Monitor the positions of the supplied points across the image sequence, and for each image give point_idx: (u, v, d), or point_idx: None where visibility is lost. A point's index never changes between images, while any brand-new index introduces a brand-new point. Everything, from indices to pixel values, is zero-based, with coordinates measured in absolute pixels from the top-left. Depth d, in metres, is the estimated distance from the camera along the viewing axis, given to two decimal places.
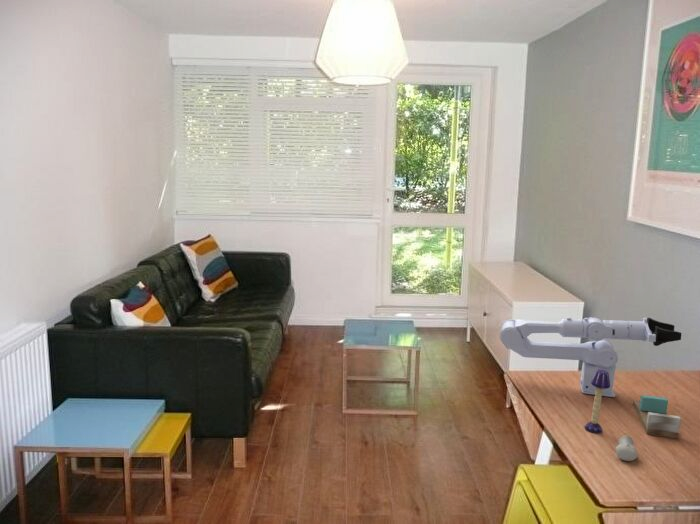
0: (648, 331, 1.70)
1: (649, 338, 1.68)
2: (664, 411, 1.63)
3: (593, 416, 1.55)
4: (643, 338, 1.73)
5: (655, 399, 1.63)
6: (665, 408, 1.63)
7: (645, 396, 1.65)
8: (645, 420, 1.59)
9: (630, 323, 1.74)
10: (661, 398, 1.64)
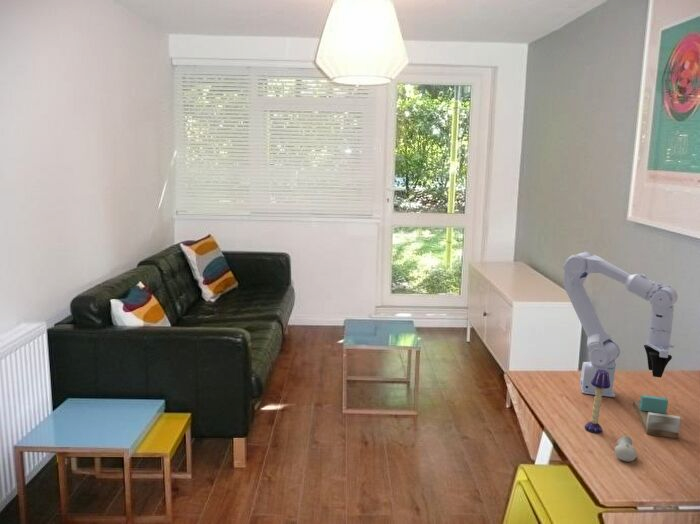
0: None
1: (664, 351, 1.61)
2: (664, 411, 1.63)
3: (593, 416, 1.55)
4: (654, 343, 1.66)
5: (655, 399, 1.63)
6: (665, 408, 1.63)
7: (645, 396, 1.65)
8: (645, 420, 1.59)
9: (670, 332, 1.66)
10: (661, 398, 1.64)
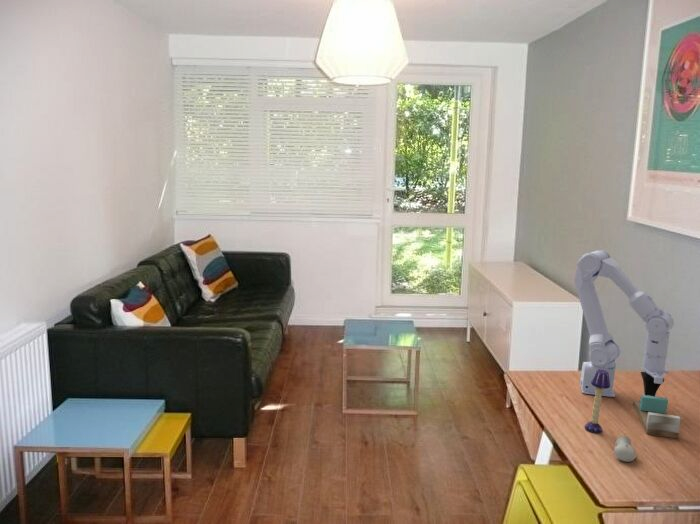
0: (662, 376, 1.65)
1: (658, 378, 1.63)
2: (664, 411, 1.63)
3: (593, 416, 1.55)
4: (649, 369, 1.68)
5: (655, 399, 1.63)
6: (665, 408, 1.63)
7: (645, 396, 1.65)
8: (645, 420, 1.59)
9: (665, 358, 1.67)
10: (661, 398, 1.64)
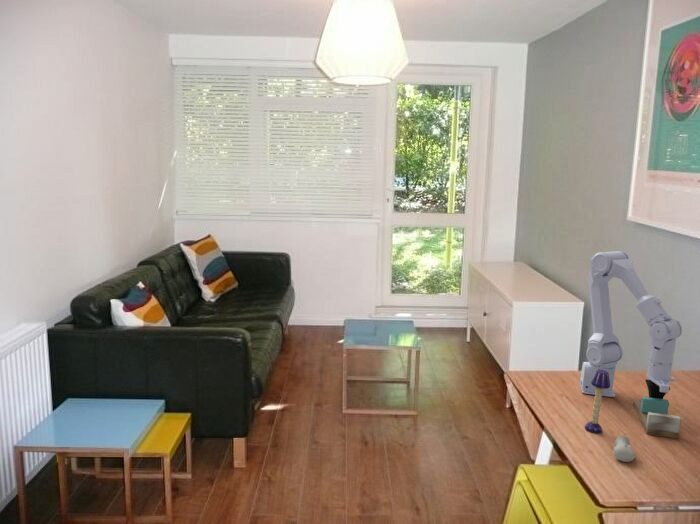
0: (668, 384, 1.59)
1: (664, 386, 1.57)
2: (665, 413, 1.62)
3: (593, 416, 1.55)
4: (654, 377, 1.62)
5: (656, 401, 1.62)
6: (666, 410, 1.62)
7: (646, 398, 1.63)
8: (645, 420, 1.59)
9: (671, 365, 1.61)
10: (662, 400, 1.63)
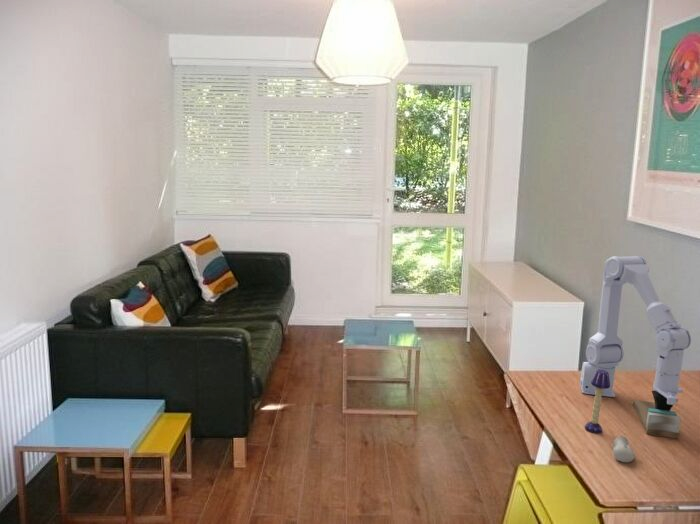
0: (676, 396, 1.51)
1: (672, 398, 1.50)
2: None
3: (593, 416, 1.55)
4: (661, 388, 1.55)
5: (663, 413, 1.55)
6: None
7: (652, 410, 1.56)
8: (645, 420, 1.59)
9: (679, 376, 1.54)
10: (669, 412, 1.55)
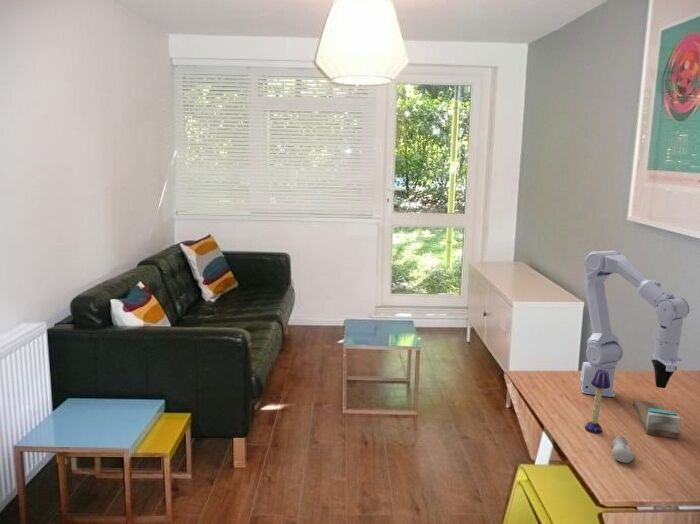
0: (675, 364, 1.56)
1: (671, 365, 1.54)
2: None
3: (593, 416, 1.55)
4: (660, 356, 1.59)
5: (663, 413, 1.55)
6: None
7: (652, 409, 1.56)
8: (645, 420, 1.59)
9: (678, 345, 1.58)
10: (669, 412, 1.55)
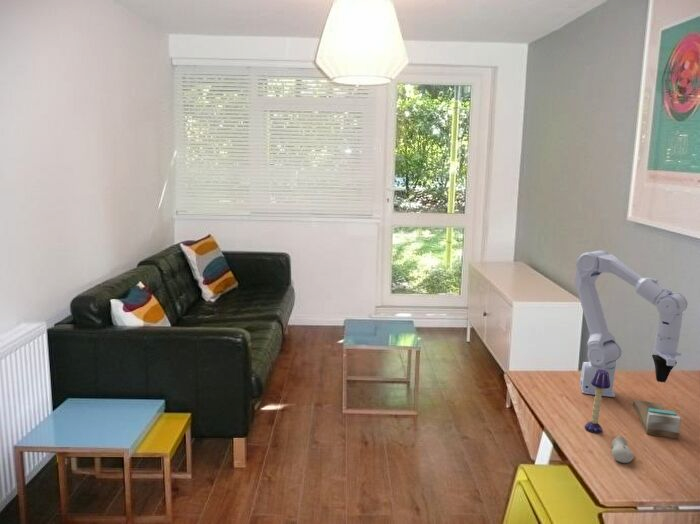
0: (675, 358, 1.60)
1: (671, 360, 1.58)
2: None
3: (593, 416, 1.55)
4: (661, 351, 1.63)
5: (663, 413, 1.55)
6: None
7: (652, 409, 1.56)
8: (645, 420, 1.59)
9: (678, 340, 1.62)
10: (669, 412, 1.55)
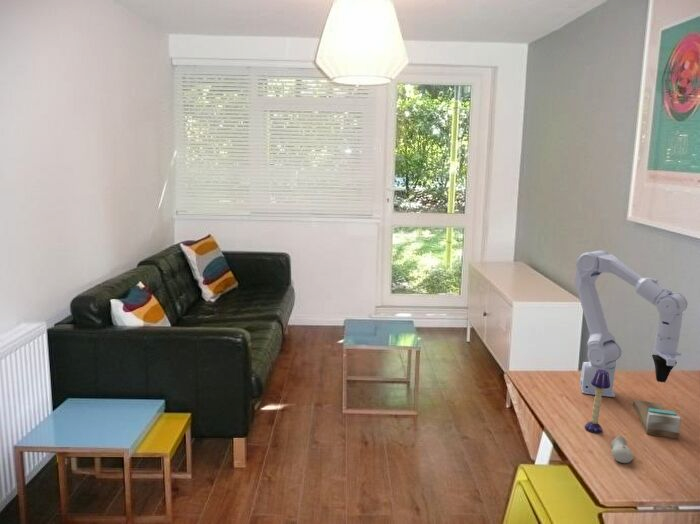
0: (675, 358, 1.60)
1: (671, 360, 1.58)
2: None
3: (593, 416, 1.55)
4: (661, 351, 1.63)
5: (663, 413, 1.55)
6: None
7: (652, 409, 1.56)
8: (645, 420, 1.59)
9: (678, 340, 1.62)
10: (669, 412, 1.55)
